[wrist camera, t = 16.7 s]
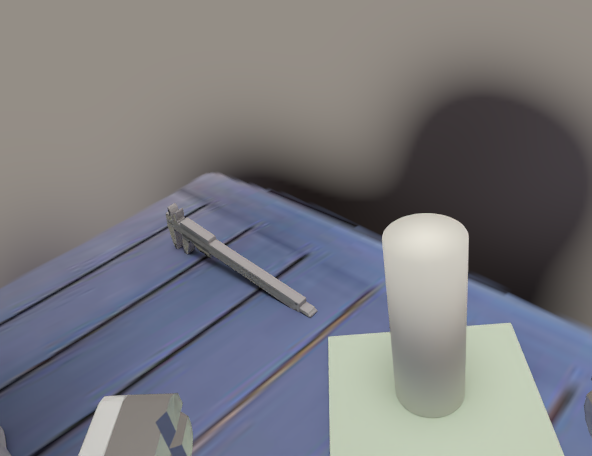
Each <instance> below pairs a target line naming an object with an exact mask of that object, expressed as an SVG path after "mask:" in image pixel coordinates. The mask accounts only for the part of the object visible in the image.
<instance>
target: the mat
mask: <svg viewBox="0 0 592 456" xmlns="http://www.w3.org/2000/svg"><path fill="white" fill-rule="evenodd" d="M328 349H329V416H330V456H564V454H563V451H562V449H561V446H560V444H559V441H558V439H557V436H556V434H555V431H554V429H553V426H552V424H551V421H550V419H549V416H548V414H547V412H546V409H545V407H544V404H543V402H542V399H541V397H540V394H539V392H538V389H537V387H536V384H535V382H534V379H533V377H532V374H531V372H530V369H529V367H528V364H527V362H526V359H525V357H524V354H523V352H522V349H521V347H520V345H519V342H518V340H517V337H516V335H515V332H514V330H513V327H512V325H511V323H502V324H489V325H476V326H466V365H465V396H464V400H463V402H462V404H461V405H460V407H459V408H458V409H457V410H456V411H454V412H453V413H451V414H449V415H447V416H443V417H438V418H426V417H421V416H418V415H416V414H413V413H412V412H410V411H408V410H407V409H406V408H405V407H404V406H403V405H402V404H401V403H400V402H399V400H398V398H397V396H396V391H395V380H394V369H393V357H392V346H391V334H390V332H384V333H371V334H358V335H345V336H332V337H328Z"/></svg>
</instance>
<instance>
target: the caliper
mask: <svg viewBox="0 0 592 456" xmlns="http://www.w3.org/2000/svg"><path fill="white" fill-rule="evenodd" d="M166 218H167V225H168V228H169V231H170V234H171V237H172V240H173V243H174V245H175V247H176V248H177V249H179V248H180V247H182V246H183V247H184V250H185V253H186V254H189V253H190V252H192V251H193V250H194V249H195V247H196V248H197V249H198V250H199V251H200V252H202V253H204V254H205V255H206V256H208V257H209V258H211V257H213V256H214V257H216V258H217V259H219V260H220V261H222V262H223V263H225V264H226V265H228V266H229V267H231V268H232V269H234V270H235V271H237V272H238V273H240V274H241V275H242V276H244V277H245V278H247V279H248V280H250V281H251V282H253V283H254V284H256V285H257V286H259V287H260V288H262V289H263V290H264V291H266V292H267V293H269V294H270V295H272V296H273V297H275V298H276V299H278V300H279V301H281V302H282V303H284V304H285V305H286V306H288V307H290V308H292V309H294V310H296V311H298V312H302V313H303V314H305V315H306V316H308V317H310V318H311V317H312V316H313V315H314V314H315V313H316V312H317V310H316V309H315V307H314V306H312V305H311V304H309V303H308V302H306V298H305V297H304V296H302V295H301V294H299V293H298V292H296V291H295V290H293V289H292V288H290V287H289V286H287V285H286V284H284V283H282V282H281V281H279V280H278V279H276V278H275V277H273V276H272V275H270V274H269V273H267V272H266V271H264V270H263V269H261V268H260V267H258V266H256V265H255V264H253V263H252V262H250V261H249V260H247V259H246V258H244V257H243V256H241V255H240V254H238V253H237V252H235V251H233V250H232V249H230V248H229V247H227V246H226V245H224V244H223V243H221V242H220V241H218V240H217V239H216V237H215V235H213V234H212V233H210V232H209V231H207V230H206V229H204V228H202V227H201V226H199V225H198V224H196V223H195V222H193V221H192V220H190V219H189V218H185V217H184V212H183V208H181V209H180V210H179V209H178V207H177V205H176V204H175V203H174V204H172V205H171V206H169V207H168V212H167V213H166Z"/></svg>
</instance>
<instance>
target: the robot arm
mask: <svg viewBox="0 0 592 456" xmlns="http://www.w3.org/2000/svg"><path fill="white" fill-rule="evenodd" d="M591 380H592V378H591ZM181 408H182V401H181V399H180V397H179V395H178V393H170V394H143V395H118V396H104V398H103V399H102V400H101V401H100V403H99V404H98V406H97V409H96V411H95V414H94V416H93V419H92V421H91V424H90V427H89V429H88V432H87V434H86V437H85V439H84V442H83V444H82V447H81V449H80V452H79V455H78V456H191V454H192V446H193V432H192V426H191V422H190V420H189V417H188V416H187V415H185V414H184V413H182V412H181ZM584 410H585V420H586V423H587V427H588V430H589V433H590V435H591V437H592V391H591V392H589V393H588V394H587V395H586V400H585V404H584ZM0 456H12V455H11V454H10V453H9V452H8V450H7V449H6V440H5V434H4V431H3V429H2V427H1V426H0Z"/></svg>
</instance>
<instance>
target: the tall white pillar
mask: <svg viewBox="0 0 592 456" xmlns="http://www.w3.org/2000/svg"><path fill="white" fill-rule="evenodd" d="M468 238H469V237H468V232H467V230H466V228H465V227H464V226H463V225H462V224H461V223H460V222H458V221H457V220H455V219H453V218H450V217H447V216H444V215H440V214H432V213H421V214H413V215H409V216H405V217H402V218H400V219H398V220H396V221H394V222H393V223H391V224H390V225H389V226H388V227H387V228H386V229H385V231H384V233H383V236H382V243H383V255H384V266H385V277H386V289H387V300H388V312H389V323H390V334H391V346H392V357H393V369H394V380H395V391H396V396H397V398H398V400H399V402H400V403H401V404H402V405H403V406H404V407H405V408H406V409H407V410H408V411H410V412H412V413H413V414H416V415H418V416H421V417H426V418H438V417H443V416H447V415H449V414H451V413H453V412H454V411H456V410H457V409H458V408H459V407H460V405H461V404H462V402H463V400H464V396H465V365H466V324H467V283H468V241H469V239H468Z"/></svg>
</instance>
